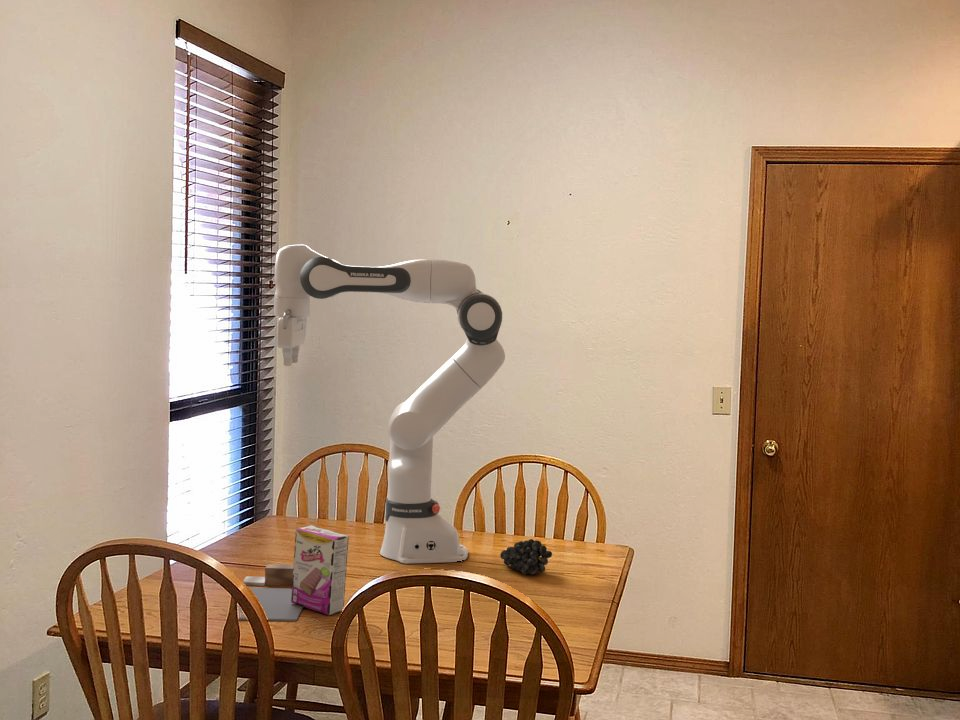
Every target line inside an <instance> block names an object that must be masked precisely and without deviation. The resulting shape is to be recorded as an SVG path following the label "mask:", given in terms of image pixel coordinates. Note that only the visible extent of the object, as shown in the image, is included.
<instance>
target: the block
mask: <svg viewBox="0 0 960 720" xmlns="http://www.w3.org/2000/svg"><path fill="white" fill-rule="evenodd" d="M293 568H294V564H280V563H279V564H277V563H274V564H272V563H268V564H266V566H265V568H264V576H250V575H249V576H247V575H246V576H245V577H244V579H243V580H242V582H243V581H244V583H245V584H246V585H247V586H249V587H250V586H251V587H253V586H254V587H257V586H258V587H265V586H289V587H290V586H291V587H292V582H293ZM247 586H246V587H247Z"/></svg>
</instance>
